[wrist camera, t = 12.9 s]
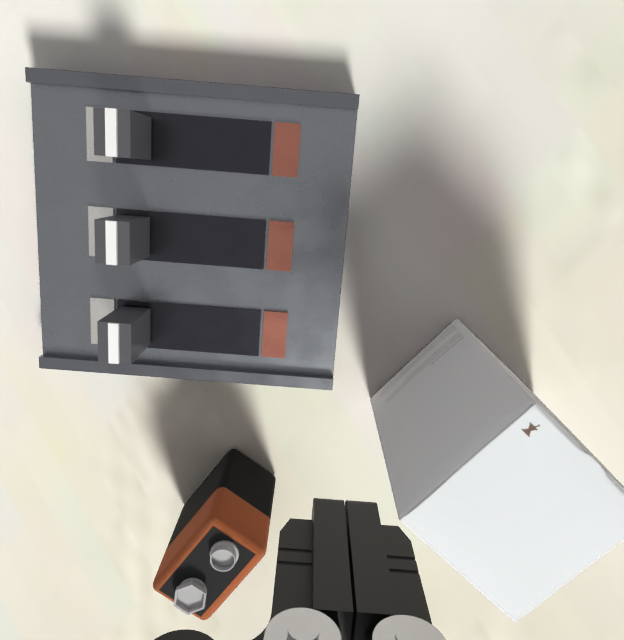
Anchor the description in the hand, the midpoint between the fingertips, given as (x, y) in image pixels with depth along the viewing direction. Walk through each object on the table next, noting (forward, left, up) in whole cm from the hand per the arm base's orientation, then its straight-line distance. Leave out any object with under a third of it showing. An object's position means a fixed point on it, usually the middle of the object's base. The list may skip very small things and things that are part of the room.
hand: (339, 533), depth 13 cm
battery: (+6, +16, -27) cm, 32 cm away
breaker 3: (+12, +3, -24) cm, 28 cm away
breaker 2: (+13, -3, -24) cm, 28 cm away
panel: (+9, -4, -27) cm, 29 cm away
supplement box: (-10, +7, -27) cm, 30 cm away
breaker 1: (+12, -9, -25) cm, 29 cm away
